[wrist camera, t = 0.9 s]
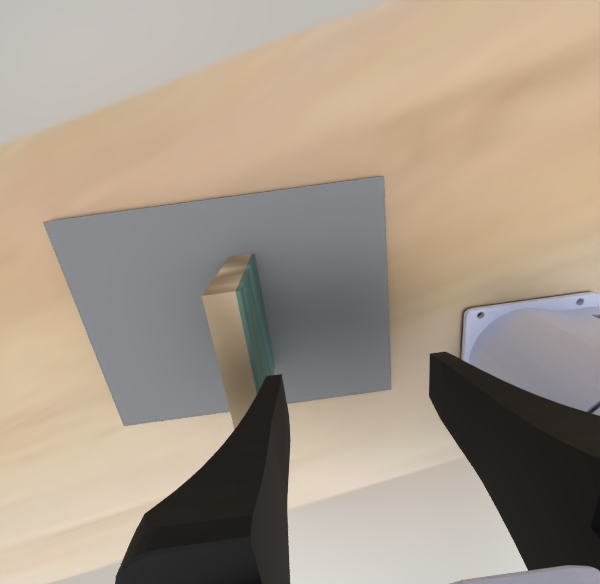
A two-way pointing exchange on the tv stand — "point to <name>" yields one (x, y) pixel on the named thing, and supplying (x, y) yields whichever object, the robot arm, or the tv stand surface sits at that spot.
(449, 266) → the tv stand surface
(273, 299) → the mat
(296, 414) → the tv stand surface
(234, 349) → the tile
